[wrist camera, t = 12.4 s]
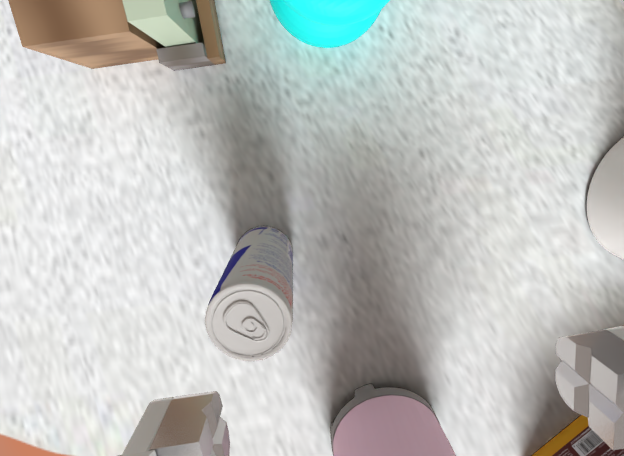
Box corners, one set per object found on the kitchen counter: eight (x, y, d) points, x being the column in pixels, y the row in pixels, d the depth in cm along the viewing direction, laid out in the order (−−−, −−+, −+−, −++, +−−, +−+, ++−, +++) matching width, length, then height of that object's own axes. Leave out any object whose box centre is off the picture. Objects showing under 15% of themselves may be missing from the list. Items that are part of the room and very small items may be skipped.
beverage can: (239, 221, 38) (205, 278, 23) (295, 228, 38) (297, 287, 24) (234, 274, 39) (200, 360, 24) (289, 280, 39) (287, 367, 25)
